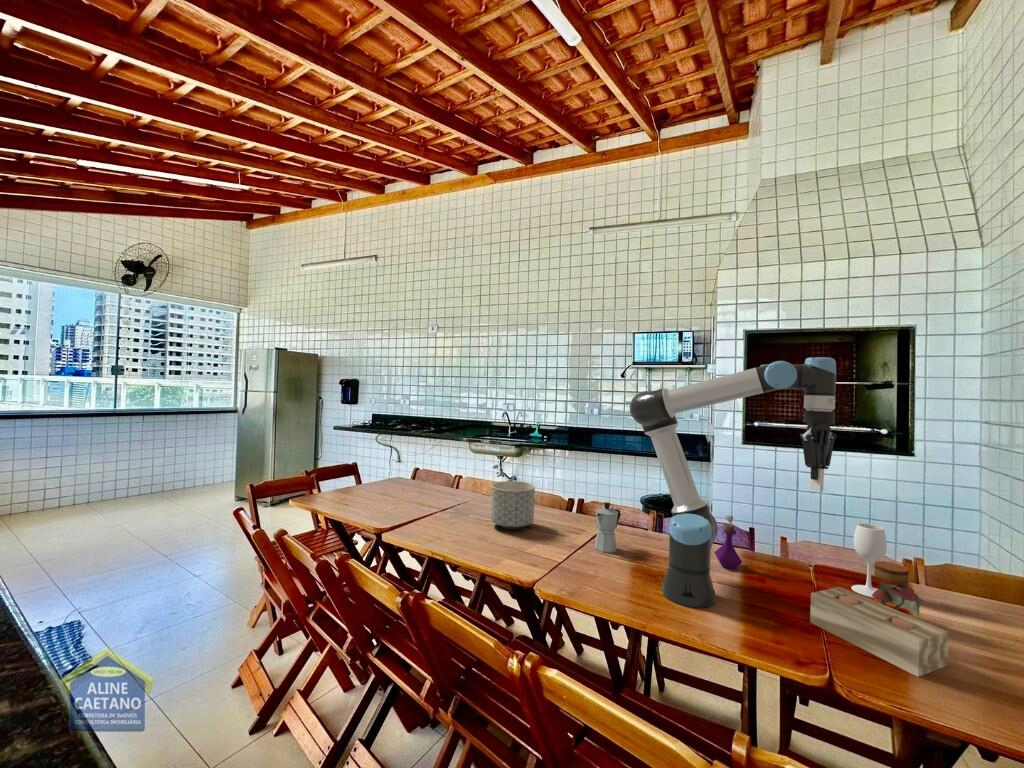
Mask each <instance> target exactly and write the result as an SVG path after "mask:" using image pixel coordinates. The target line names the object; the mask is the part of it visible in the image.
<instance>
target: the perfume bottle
mask: <svg viewBox="0 0 1024 768" xmlns="http://www.w3.org/2000/svg"><path fill="white" fill-rule="evenodd" d="M724 518H725V520H727V521H728V523H729V524H726V525H725V528H724V529H723V532H724V533H725V534H726V537H725V540H724V542H723V544H722V545H721V546H719V548H717V549H716V550H715V551H714V555H715V556H716V557H715V558H716V559H717V561H718V563H719V564H720V565H721V568H723V569H733V570H736V569H737V568H738V567H739V566H740V565H741V564H742V563H743V561H742V559H741V558H740V556H739V555H738V554H739V553H738V552H737V551H736V550H735V548H734V546H733V537H734V535H736V534H737V531H736V530H735V529H736V528H735V526H733V525H731V523H732V522H733V521H734V516H733V515H729V514H728V515H727V514H726V515H724Z"/></svg>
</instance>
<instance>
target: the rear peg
mask: <svg viewBox="0 0 1024 768" xmlns="http://www.w3.org/2000/svg"><path fill="white" fill-rule="evenodd" d="M839 600H841V601H843V602H846V603H848V604H850V605H852V606H854V605H858V600H857V599H855V598H853V597H849V596H844V595H841V596H839Z"/></svg>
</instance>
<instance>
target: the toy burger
mask: <svg viewBox="0 0 1024 768" xmlns="http://www.w3.org/2000/svg"><path fill="white" fill-rule="evenodd" d="M873 565H874V567H873V568H874V570H873V573H874V574H873V575H874V576H875V577H876V578H878V579H880V580H883V581H886V582H889V583H883V582H879V584H878V585H879V588H878V590H876V591H875V592H874V593H873V594H872V596H873V597H875V598H874V599H878V602H880V604H883V605H885V606H887V607H888V605H887V604H891V605H894V608H893V607H891V608H892V609H895V610H897V611H899V609H900V608H903V609H906V610H909V611H912V612H913V613H914V614H915V615H916V616H917V619H920V607H921V605H922V604H923V603H924V602H925V600H923V599H921V597H920V596H919V594H916V593H915V590H914V589H913V588H912V587H911V586H909V585H906V584H909V577H910V575H909V573H910V570H909V569H908V567H906V566H904V565H901V564H898V563H894V562H890V561H884V560H883V561H882V560H879V561H875V562H874V563H873ZM891 583H894V584H891ZM896 584H899V585H896Z"/></svg>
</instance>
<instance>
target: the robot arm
mask: <svg viewBox="0 0 1024 768" xmlns="http://www.w3.org/2000/svg"><path fill="white" fill-rule="evenodd" d="M836 362H837V361H836V360H835V359H834V358H832V357H825V356H824V357H823V356H821V357H820V356H819V357H806V359H805V361H804V363H803V364H793V363H790V362H788V361H785V360H777V361H773V362H771V363H769V364H768V363H767V364H761V365H760V366H757V367H753V368H749V369H746V370H742V371H737V372H734V373H733V372H732V373H731V374H730V373H729V374H727V375H723V376H719V377H714V378H710V379H708V380H703V381H699V382H696V383H691V384H688V385H684V386H680V387H677V388H672V389H667V388H665V387H664V388H660V389H654V390H644V391H641V392H639V393H638V394H635V395H634V397H633V398H632V399H631V400H630V403H629V413H630V416H631V418H633V420H634V421H635V422H636V423H638V424H640V425H641V426H642V429H643V432H644V435H647V436H648V437H650V439H651V442H652V446H653V448H654V451H655V453H656V456H657V459H658V462H659V466H660V468H661V471H662V474H663V476H664V481H665V483H666V485H667V489H668V492H669V494H670V497H671V499H672V503H673V506H672V509H671V514H672V517H671V519H670V522H669V526H668V527H669V528H668V530H669V531H668V532H669V539H668V540H669V547H668V548H669V549H668V568H667V570H666V573H665V575H664V576H665V577H664V578H663V581H662V583H661V592H662V595H664V597H666V598H667V599H668V600H670V601H671V602H673V603H675V604H679V605H682V606H686V607H691V608H707V607H708V608H709V607H711V606H713V605H714V604H715V603H716V599H717V598H716V597H717V595H716V591H715V588H714V585H713V581H712V576H711V549H712V546H713V544H714V543H715V540H716V538H717V536H718V532H719V530H718V529H719V528H718V523H717V520H716V518H715V517H714V515H713V514H712V513H711V512H710V508H709V505H708V503H707V502H706V501H705V500H702V499H701V498H700V495H699V492H698V490H697V489H698V488H697V486H696V483H695V481H694V478H693V475H692V473H691V470H690V467H689V464H688V462H687V458H686V456H685V453H684V451H683V450H684V449H683V447H682V444H681V442H680V439H679V437H678V434H677V430H676V429H677V427H678V426H679V423H678V420H677V417H676V414H680V413H683V412H688V411H693V410H696V409H701V408H705V407H709V406H712V405H713V406H714V405H717V404H723V403H726V402H730V401H734V400H738V399H743V398H746V397H751V396H755V395H756V396H757V395H760V394H764V393H769V392H773V391H774V392H775V391H777V390H803V391H804V393H803V409H805V410H804V411H803V423H805V424H807V425H806V429H805V432H804V433H800V434H799V438H800V439H801V443H802V450H803V452H802V453H803V458H804V465H805V467H807V468H810V491H813V492H818V493H822V492H823V493H824V481H825V480H824V479H825V470H829V468H830V466H831V461H832V455H833V451H834V445H835V440H837V439H836V438H837V434H836V433H833V432H832V429H831V425H834V424H835V423H836V422H835V421H836V420H835V419H836V413H835V412H834V410H835V409H836V402H837V401H836V391H837V390H836V389H837V363H836Z"/></svg>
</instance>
